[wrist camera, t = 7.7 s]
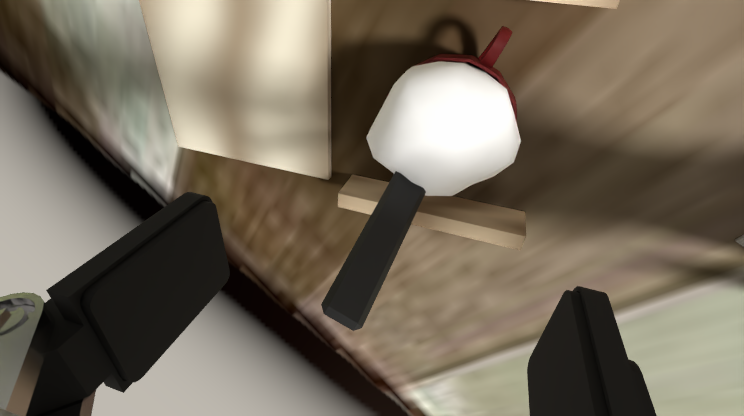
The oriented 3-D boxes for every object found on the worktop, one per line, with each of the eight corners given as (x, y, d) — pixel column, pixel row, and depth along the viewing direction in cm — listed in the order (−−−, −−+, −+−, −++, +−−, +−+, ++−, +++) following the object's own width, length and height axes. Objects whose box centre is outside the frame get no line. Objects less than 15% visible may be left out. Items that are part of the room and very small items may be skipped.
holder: (613, -26, 15) (629, -24, 13) (519, 224, 22) (520, 250, 20) (359, -46, 17) (340, -46, 15) (351, 187, 25) (338, 206, 23)
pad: (330, -36, 18) (326, -36, 17) (331, 176, 25) (328, 179, 24) (132, -53, 20) (124, -53, 20) (183, 143, 27) (178, 146, 27)
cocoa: (493, -2, 17) (480, 8, 7) (561, 107, 18) (630, 241, 9) (351, 116, 22) (229, 218, 12) (414, 195, 23) (350, 344, 14)
